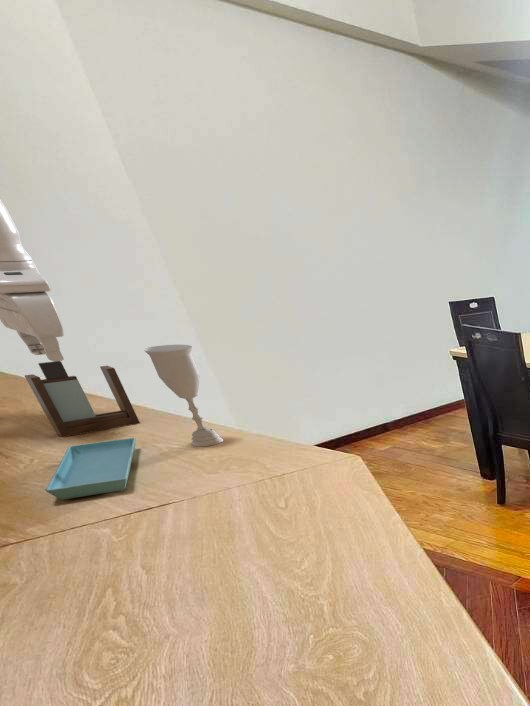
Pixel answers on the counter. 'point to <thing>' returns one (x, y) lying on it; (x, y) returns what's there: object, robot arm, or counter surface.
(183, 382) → the chalice
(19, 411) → the counter surface
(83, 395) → the window pane
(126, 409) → the window frame
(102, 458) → the shallow long dish
